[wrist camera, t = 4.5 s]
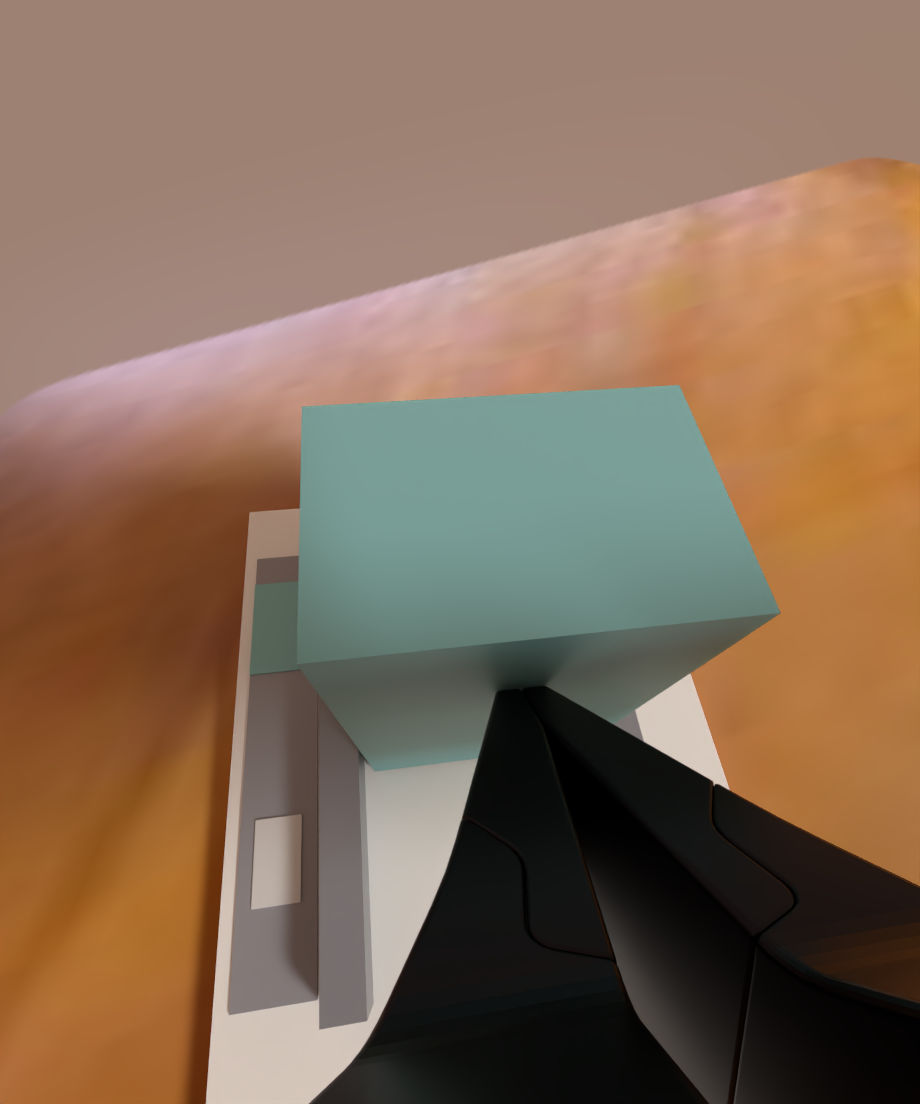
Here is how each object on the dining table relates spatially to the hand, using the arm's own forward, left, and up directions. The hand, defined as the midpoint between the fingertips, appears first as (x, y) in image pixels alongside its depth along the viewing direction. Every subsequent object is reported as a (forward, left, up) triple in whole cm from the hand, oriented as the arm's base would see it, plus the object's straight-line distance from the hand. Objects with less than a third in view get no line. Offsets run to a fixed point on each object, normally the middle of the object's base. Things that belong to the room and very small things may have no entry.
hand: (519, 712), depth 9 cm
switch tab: (+2, +2, -7) cm, 7 cm away
